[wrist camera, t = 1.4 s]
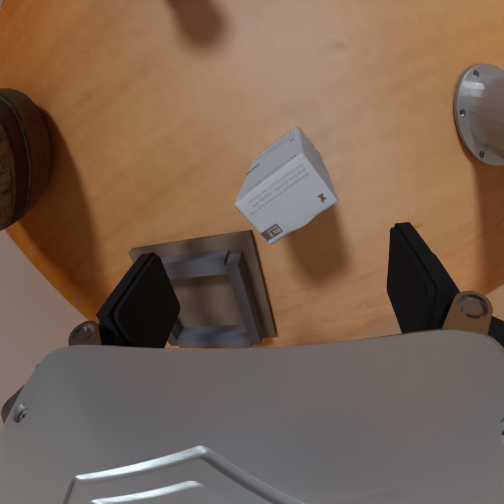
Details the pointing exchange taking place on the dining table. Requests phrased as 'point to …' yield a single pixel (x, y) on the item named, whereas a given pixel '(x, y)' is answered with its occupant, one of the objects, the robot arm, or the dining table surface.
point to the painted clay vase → (21, 155)
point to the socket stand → (216, 290)
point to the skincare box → (285, 187)
